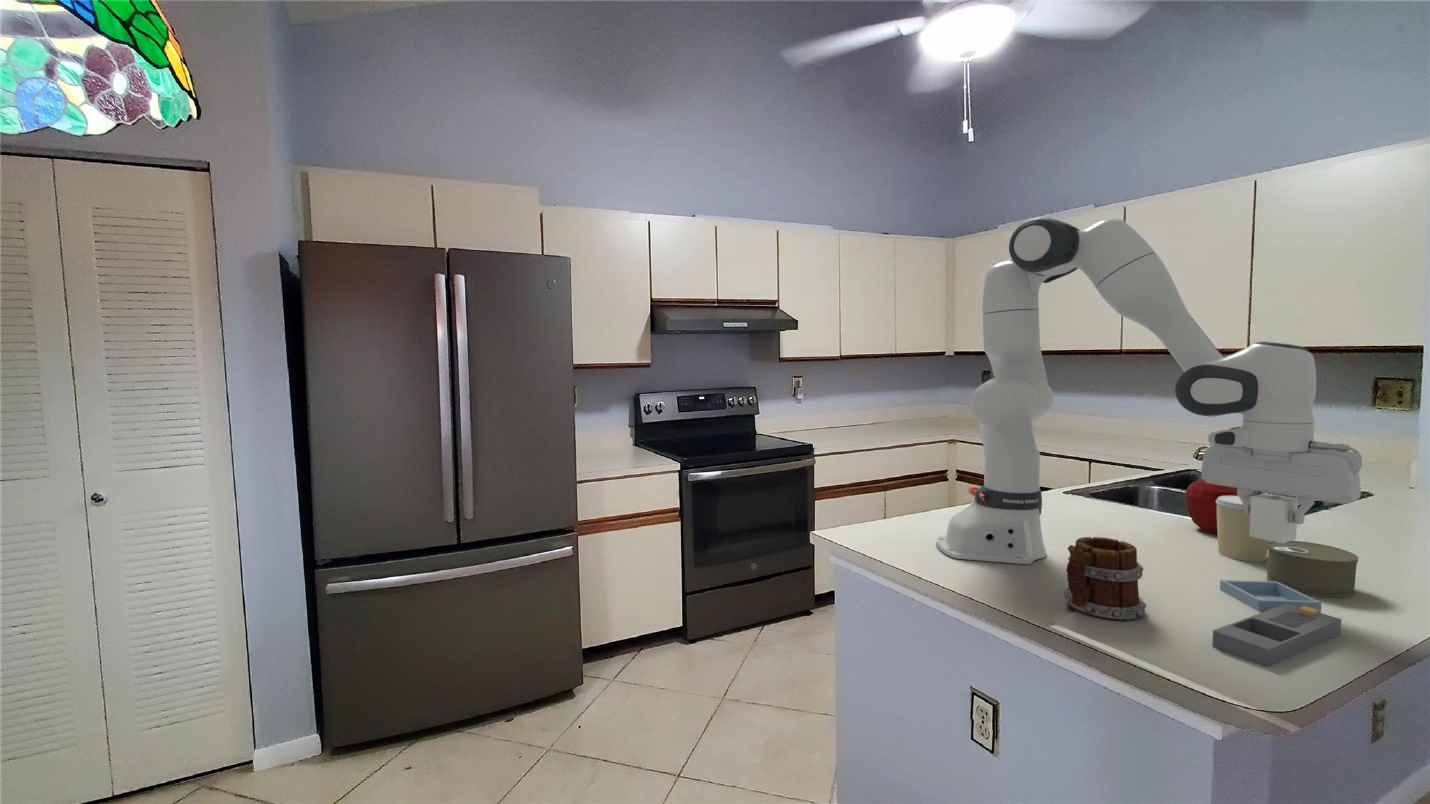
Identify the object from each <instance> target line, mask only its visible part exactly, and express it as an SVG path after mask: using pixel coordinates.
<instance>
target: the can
mask: <svg viewBox="0 0 1430 804" xmlns="http://www.w3.org/2000/svg"><path fill="white" fill-rule="evenodd" d="M1267 547H1268V551H1267V568H1266V569H1267V570H1266V571H1267V575H1266V581H1277V582H1279V583H1281V584H1283V585H1285V586H1287V587H1290V588H1292V589H1294V590H1296V591H1298V592H1300V593H1302V594H1304V595H1307V596H1313V597H1318V598H1325V599H1326V598H1327V599H1350V598H1352V597H1354V595H1355V587H1356V574H1357V565H1358V561H1359V557H1358V555H1356V554H1354V553H1353V552H1351V551H1349V550H1346V549H1342V548H1339V547H1335V546H1331V545H1326V544H1325V545H1324V544H1321V543H1316V542H1309V541H1299V540H1292V541H1289V542H1285V543H1278V542H1274V541H1269V543H1268V544H1267ZM1349 597H1350V598H1349Z"/></svg>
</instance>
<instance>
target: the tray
mask: <svg viewBox="0 0 1430 804" xmlns="http://www.w3.org/2000/svg"><path fill="white" fill-rule="evenodd" d="M1219 590H1220V591H1221V592H1222V593H1224V594H1226V595H1228V596H1230V597H1232V598H1234V599H1235V600H1237V601H1239V602H1241V603H1243V604H1244V605H1247V606H1248V607H1250V608H1252V609H1253V610H1255V611H1257V612H1259V613H1262V612H1265V611H1267V610H1270V609H1273V608H1275V607H1278V606H1281V605H1284V604H1286V603H1287V604H1291V605H1294V606H1298V607H1304V606H1307V607H1311V608H1314V609H1318V610H1319V613H1322V612H1321V611H1322V602H1321V601H1319V600H1318V599H1315V598H1312V597H1310V595H1306V594H1302V593H1300V592H1298V591H1296V590H1294V589H1292V588H1290V587H1287V586H1285V585H1283V584H1281V583H1279V582H1277V581H1268V580H1239V579H1238V580H1235V579H1233V580H1232V579H1231V580H1230V579H1220V581H1219Z"/></svg>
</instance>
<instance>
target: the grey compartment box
mask: <svg viewBox="0 0 1430 804" xmlns="http://www.w3.org/2000/svg"><path fill="white" fill-rule="evenodd" d="M1341 629H1342V618H1338V617H1335V616H1332V615H1330V614H1329V615H1328V614H1325V613H1322V612H1321V613H1319V610H1318V609H1314V608H1311V607H1307V606H1304V607H1298V606H1294V605H1291V604H1287V603H1286V604H1284V605H1281V606H1278V607H1275V608H1273V609H1270V610H1267V611H1265V612H1259V613H1257V614H1255V615H1252V616H1249V617H1246V618H1243V619H1240V620H1237V621H1235V622H1232V623H1230V624H1227V625H1224V626H1222V627H1221V626H1220V627H1219V628H1216V629H1213V631H1212V644H1211V646H1212V647H1214V648H1216V649H1219V650H1223V651H1225V652H1227V653H1230V654H1232V655H1235V656H1238V657H1240V658H1243V659H1246V660H1249V661H1252V662H1255V663H1257V664H1260V665H1263V666H1265V667H1269V666H1273V665H1276V664H1277V663H1280V662H1282V661H1284V660H1286V659H1288V658H1290V657H1294V656H1295V655H1297V654H1300V653H1302V652H1305V651H1307V650H1309V649H1311V648H1313V647H1315V646H1318V645H1320V644H1322V643H1325V642H1327V641H1329V640H1332V639H1334V638H1335V637H1339V636H1340V635H1341V631H1342V630H1341Z"/></svg>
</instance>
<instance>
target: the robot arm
mask: <svg viewBox="0 0 1430 804" xmlns="http://www.w3.org/2000/svg"><path fill="white" fill-rule="evenodd" d="M1008 252H1009V256H1010V258H1011V259H1009V260H1005V261H1001V262H997V264H994V265H993V266H991V267H990V269H989V270H988V271H987V273H986V275H985V280H984V285H983V291H982V292H983V293H982V332H983V334H982V335H983V350H984V352H985V354H986V356H987V358H988V360H989V363H990V365H991V366H990V367H991V368H992V374H993V377H994V378H990V379H989V380H986V381H985V382H983V383H982V384H981V385H979V386H978V387H977V388H975V390H974V391H973V393H972V395H971V397H970V410H971V413H972V415H973V417H974V419H976V421H977V422H978V427H979V431H980V436H981V440H982V441H981V442H982V447H983V454H984V455H983V457H984V469H983V471H984V472H983V473H984V474H983V475H984V477H983V478H984V479H983V480H984V481H983V483H984V484H983V485H982V486H980V487H979V488H978V487H977V486H975V485H969V487H968V489H967V490H968V493H969V494H970V495H971V496H974V502H973V503H971V504H969V505H968V506H967V507H965V508H964V509H963V510H961V511H959V512H958V513H955V515H953V516H952V517H950V520H949V522H948V526H947V531H946V535H940V536H938V537H937V538H936V547H937V548H938V549H939V550H940V551H941V552H942V553H943V554H945V555H946V556H949V557H951V558H954V559H958V560H960V559H961V560H970V561H972V560H973V561H982V562H983V561H984V562H994V563H1007V564H1019V565H1030V564H1033V562H1034V561H1036V560H1039V559H1043V558H1045V557H1046V556H1047V555H1048V554H1047V550H1046V546H1045V543H1044V538H1043V533H1042V525H1041V514H1042V509H1043V497H1042V492H1043V491H1042V489H1041V488H1040V487H1041V486H1040V485H1041V484H1040V482H1041V480H1040V479H1041V454H1040V453H1041V452H1040V451H1039V449H1038V448H1037V445H1036V441H1035V435H1034V429H1033V423H1034V422H1036V421H1038V420H1040V419H1042V418H1043V417H1044V416H1045V415H1046V414H1047V413H1048V412H1049V411H1050V409H1051V408H1052V405H1053V402H1054V393H1053V391H1052V388H1051V386H1050V385H1049V382H1048V381H1049V380H1048V376H1047V371H1046V367H1045V362H1044V358H1043V354H1042V347H1041V339H1040V338H1041V336H1040V335H1041V334H1040V333H1041V331H1040V330H1041V329H1040V312H1039V311H1040V310H1039V308H1040V307H1039V292H1040V288H1041V285H1042V284H1048V283H1051V282H1053V281H1055V280H1057V279H1060V278H1062V277H1065V276H1067V275H1070V274H1072V273H1073V272H1075V271H1078V269H1079V270H1080V271H1082V272H1083V273H1084V274H1085V275H1086V277H1088V279H1089V280H1090V282H1091V283H1092V285H1093V286H1094V287H1095V289H1096V290H1097V292H1098V293H1099V295H1100V296H1101V298H1102V299H1103V300H1104V301H1105V302H1106V303H1107V304H1108V305H1109V306H1110V307H1111V308H1112V309H1113V310H1114V311H1116V313H1117V314H1119V315H1120V316H1122V317H1123V318H1126V319H1129V320H1130V321H1132V322H1135V323H1137V324H1138V325H1141V326H1143V327H1144V328H1145V329H1147V330H1148V331H1150V332H1152V333H1153V334H1154V335H1155V336H1156V337H1157V339H1159V341H1160V342H1161V343H1162V344H1163V346H1164V347H1165V349H1166V350H1167V351H1168V352H1169V353H1170V354H1171V356H1172V357H1173V359H1174V360H1175V362H1177V364H1178V365H1179V366H1180V368H1181V369H1182V371H1183V373H1182V374H1181V375H1180V376H1179V377H1178V379H1177V381H1176V383H1175V386H1174V387H1175V388H1174V392H1175V393H1174V394H1175V398H1176V399H1177V401H1178V403H1179V404H1180V406H1181V407H1182V408H1183V409H1185V410H1187V411H1188V412H1190V413H1192V414H1195V415H1197V416H1202V417H1210V418H1211V417H1221V416H1223V415H1230V414H1231V415H1232V414H1241V415H1242V425H1241V426H1236V427H1235V426H1234V427H1231V428H1228V429H1223V430H1219V431H1217V430H1216V431H1213V432H1209V434H1208V436H1207V440H1208V443H1209V444H1211V445H1210V446H1208V447H1207V448H1205V451H1204V453H1203V456H1202V462H1201V478H1202V480H1204V481H1205V482H1206V483H1209V484H1216V485H1223V486H1229V487H1235V488H1237V495H1238V496H1239V498H1240V499H1241V501H1242V502H1243V504H1244V505H1245V509H1244V513H1245V514H1246V515H1250V508H1251V495H1252V494H1254V492H1255V491H1256V492H1262V493H1267V494H1273V495H1280V496H1286V497H1293V498H1297V503H1298V505H1300V506H1299V507H1298V509H1297V510H1296V511H1291V512H1288V517H1289V518H1288V522H1290V523H1295V524H1297V525H1303V524H1304V522H1305V514H1306V513H1307V512H1308V511H1309V510H1310V508H1312V507H1313V506H1314V505H1315V501H1321V502H1328V503H1335V504H1341V505H1348V504H1351V503H1354V502H1356V501H1358V500H1359V499H1360V498H1361V494H1362V493H1361V492H1362V491H1361V480H1360V473H1359V472H1360V471H1361V469H1362V465H1363V464H1362V462H1363V458H1362V454H1361V453H1360V452H1359V451H1358V450H1357V449H1356V448H1353V447H1350V445H1348V444H1343V443H1330V442H1322V441H1314V440H1315V439H1314V435H1315V416H1314V415H1313V410H1312V409H1313V408H1312V407H1313V404H1314V401H1315V399H1316V395H1317V369H1316V362H1315V358H1314V355H1313V354H1312V352H1310V351H1309V350H1308V349H1307V348H1305V347H1303V346H1300V345H1295V344H1290V343H1282V342H1281V343H1279V342H1269V341H1258V342H1253V343H1252V344H1250V345H1249V346H1247V347H1245V348H1244V349H1241V350H1239V351H1237V352H1234V353H1232V354H1230V355H1224V354H1223V353H1222V352H1221V351H1219V349H1218V348H1217V347H1216V346H1215V345H1214V343H1213V342H1212V341H1211V339H1210V338H1209V337H1208V336H1207V334H1206V333H1205V332H1204V330H1202V328H1201V327H1200V326H1199V324H1198V323H1197V321H1196V320H1195V319H1194V318H1193V317H1192V316H1191V314H1190V312H1189V311H1188V309H1187V307H1186V306H1185V304H1184V301H1183V299H1182V296H1181V295H1180V292H1179V289H1178V288H1177V286H1176V284H1175V282H1174V279H1173V278H1172V276H1171V274H1170V271H1169V270H1168V268H1167V267H1166V265H1165V263H1164V262H1163V261H1162V259H1161V258H1160V256H1159V255H1158V254H1157V253H1156V251H1155V250H1154V249H1153V247H1152V246H1151V245H1150V244H1149V243H1148V242H1147V241H1146V240H1145V238H1143V237H1142V235H1141V234H1140V233H1138V232H1137V230H1135V229H1134V228H1133V227H1131V226H1130V225H1129V224H1128V223H1127V222H1126V221H1124V220H1122V219H1119V218H1107V219H1103V220H1099V221H1097V222H1096V223H1094V224H1093V225H1091V226H1088V227H1087V228H1085V229H1082V230H1080V229H1079V228H1078V227H1076V226H1073V225H1072V224H1070V223H1069V222H1066V221H1063V220H1059V219H1055V218H1050V217H1038V218H1032V219H1030V220H1027V221H1025V222H1023V223H1022V224H1020V225H1019V226H1018V227H1017V228H1016V229H1015V230H1014V232H1013V233H1012V235H1011V237H1010V239H1009V245H1008Z"/></svg>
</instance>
